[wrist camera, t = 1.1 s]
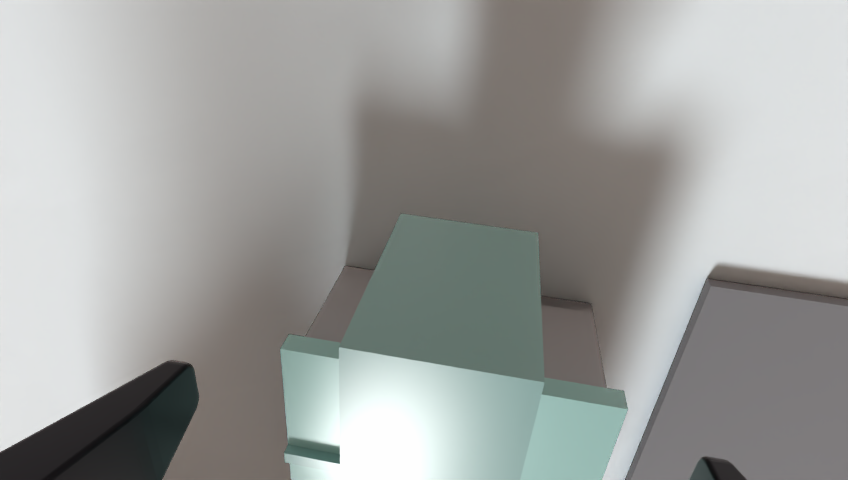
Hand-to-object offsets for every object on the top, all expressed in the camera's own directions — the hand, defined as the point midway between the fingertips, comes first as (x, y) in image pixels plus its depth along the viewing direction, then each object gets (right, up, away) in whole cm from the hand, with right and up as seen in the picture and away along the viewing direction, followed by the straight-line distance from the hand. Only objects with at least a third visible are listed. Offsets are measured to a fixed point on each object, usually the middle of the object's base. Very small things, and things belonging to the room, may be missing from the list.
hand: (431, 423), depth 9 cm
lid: (0, -3, +6) cm, 7 cm away
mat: (+13, -4, +9) cm, 16 cm away
